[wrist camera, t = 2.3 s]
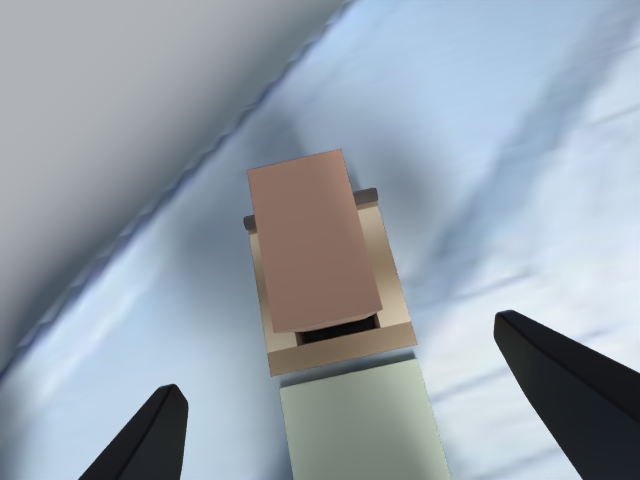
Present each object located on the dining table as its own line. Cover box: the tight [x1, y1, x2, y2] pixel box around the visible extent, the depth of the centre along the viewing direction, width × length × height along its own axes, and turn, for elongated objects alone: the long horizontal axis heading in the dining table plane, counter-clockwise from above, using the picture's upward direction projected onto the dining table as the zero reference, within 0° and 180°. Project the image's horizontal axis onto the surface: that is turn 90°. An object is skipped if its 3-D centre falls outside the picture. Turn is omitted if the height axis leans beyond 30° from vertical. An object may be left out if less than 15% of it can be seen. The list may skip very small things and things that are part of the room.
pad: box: [279, 358, 451, 480], centre depth 17 cm, size 8×8×1 cm
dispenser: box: [244, 188, 418, 377], centre depth 18 cm, size 8×7×4 cm
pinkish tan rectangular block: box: [247, 149, 383, 333], centre depth 14 cm, size 5×3×11 cm, turn 12°
